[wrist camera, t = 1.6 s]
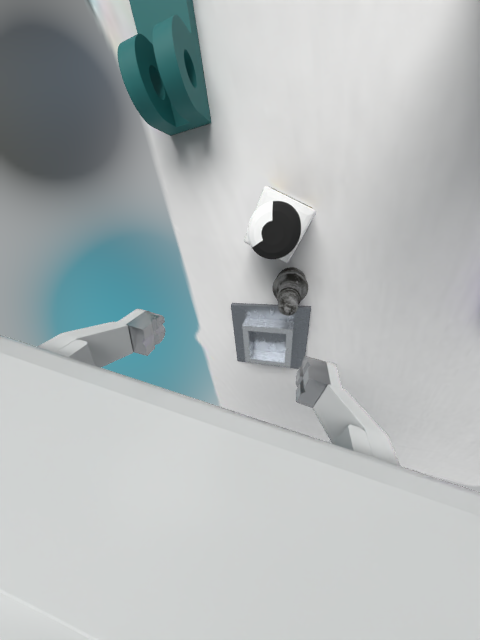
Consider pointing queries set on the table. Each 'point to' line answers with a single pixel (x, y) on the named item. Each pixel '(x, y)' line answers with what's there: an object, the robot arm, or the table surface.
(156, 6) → the bracket
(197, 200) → the table surface
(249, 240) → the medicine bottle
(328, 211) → the table surface
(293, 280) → the chess piece
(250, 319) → the plate
